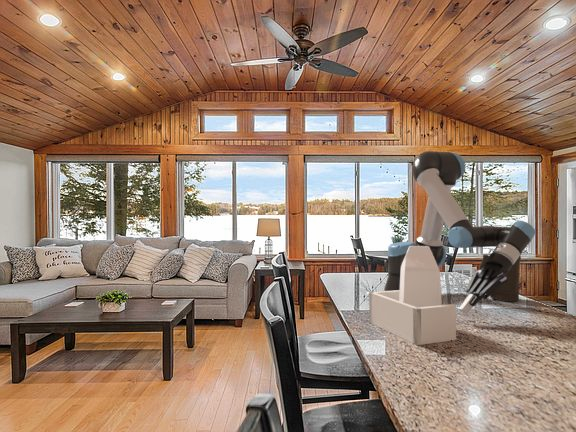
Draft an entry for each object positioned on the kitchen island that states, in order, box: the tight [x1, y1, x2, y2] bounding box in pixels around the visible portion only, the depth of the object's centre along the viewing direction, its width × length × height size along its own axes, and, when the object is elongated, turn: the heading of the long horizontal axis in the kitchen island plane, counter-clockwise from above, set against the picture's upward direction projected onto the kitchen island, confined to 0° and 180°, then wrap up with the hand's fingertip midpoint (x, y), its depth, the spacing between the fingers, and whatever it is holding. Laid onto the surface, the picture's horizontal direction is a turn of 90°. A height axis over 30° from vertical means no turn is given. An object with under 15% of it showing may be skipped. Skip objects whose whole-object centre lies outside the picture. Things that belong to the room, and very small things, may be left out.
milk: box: [399, 246, 443, 307], centre depth 126 cm, size 12×12×26 cm
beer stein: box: [479, 254, 522, 303], centre depth 166 cm, size 15×11×20 cm
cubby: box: [368, 290, 457, 346], centre depth 123 cm, size 25×14×10 cm, turn 19°
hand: (462, 311), depth 130 cm, fingers closed
